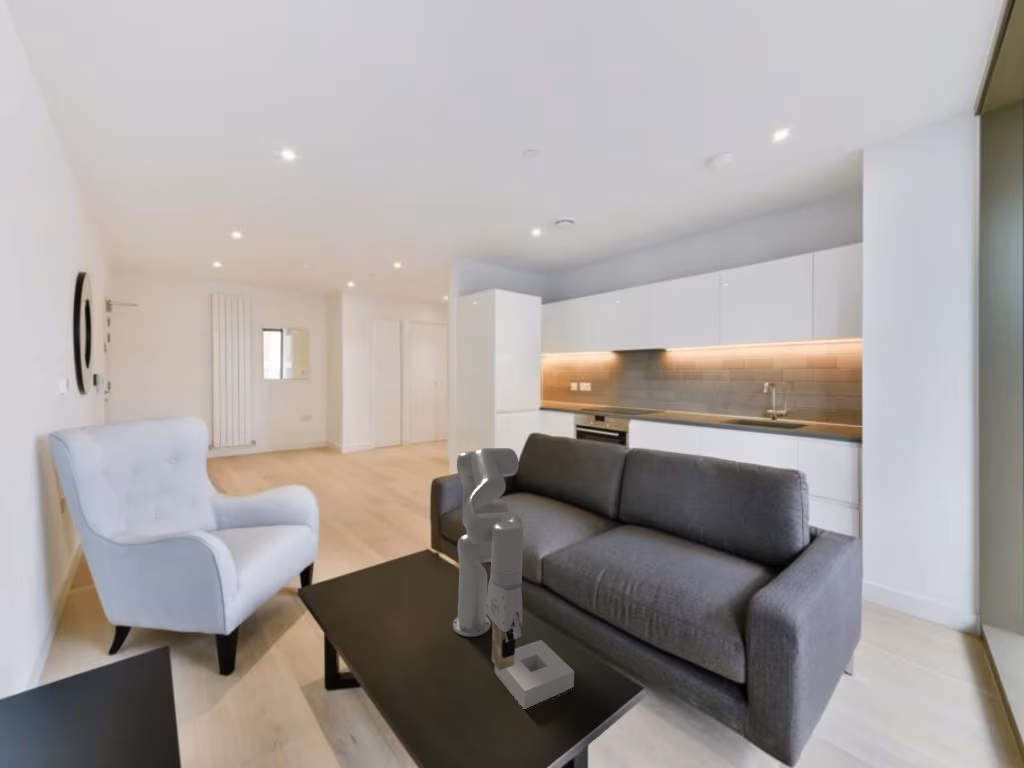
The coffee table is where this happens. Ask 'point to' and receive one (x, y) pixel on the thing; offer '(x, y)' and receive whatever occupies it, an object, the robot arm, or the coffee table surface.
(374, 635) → the coffee table surface
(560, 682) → the socket block
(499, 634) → the maple peg
